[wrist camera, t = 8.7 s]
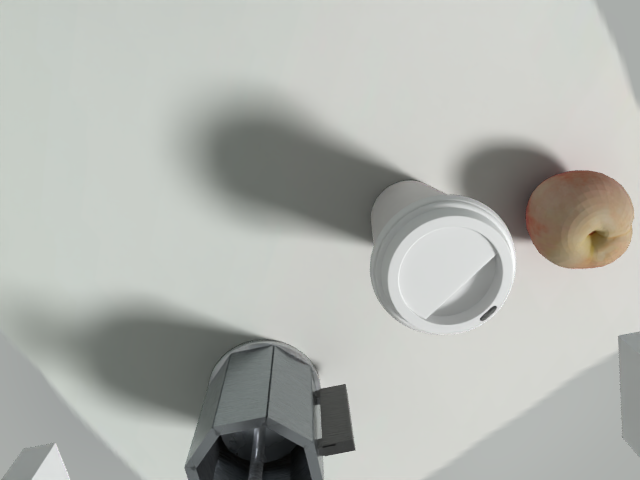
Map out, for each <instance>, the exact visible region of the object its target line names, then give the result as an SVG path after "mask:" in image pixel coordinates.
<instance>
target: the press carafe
mask: <svg viewBox="0 0 640 480" xmlns="http://www.w3.org/2000/svg"><path fill="white" fill-rule="evenodd" d="M320 410H321V414H320ZM260 427H266V428H268V429H270V430H272V431H274V432H276V433H278V434H279V435H281V436H283V437H285V438H287V439H289V440H290V441H292V442H294V443H296V444H297V445H296V446H295V447H294V449H293V450H292V451H291V452H289V453H288V454H287V455H285V456H284V457H282V458H280V459H277V460H274V461H270V462H263V470H262V480H324V470H323V456H324V455H325V456H328V455H333V454H338V453H344V452H349V451H354V450H355V444H354V437H353V430H352V422H351V415H350V408H349V401H348V394H347V389H346V385H345V384H343V385H338V386H333V387H328V388H323V389H321V385H320V379H319V376H318V373H317V371H316V369H315V367H314V365H313V364H312V362H311V361H310V360H309V359H308V358H307V356H305V355H304V354H303V353H302V352H301V351H299V350H298V349H296V348H295V347H293V346H290V345H288V344H286V343H283V342H279V341H274V340H255V341H250V342H246V343H243V344H241V345H238V346H236V347H235V348H233V349H231V350H230V351H228V352H227V353H226V354H225V355H224V356H223V357H222V358H221V359H220V360H219V361H218V363H217V364H216V366H215V367H214V369H213V372H212V374H211V377H210V381H209V385H208V389H207V393H206V396H205V400H204V403H203V406H202V410H201V413H200V417H199V420H198V423H197V427H196V430H195V433H194V437H193V440H192V444H191V447H190V450H189V454H188V457H187V461H186V464H185V471H186V474H187V477H188V480H248V476H249V469H250V461H248V460H245V459H242V458H240V457H238V456H237V455H235V454H234V453H232V452H231V451H230V450H229V449H228V448H227V446H226V445H225V444H224V442H223V440H222V437H221V435H224V434H230V433H235V432H240V431H245V430H250V429H255V428H260ZM321 428H322V433H321Z"/></svg>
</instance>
